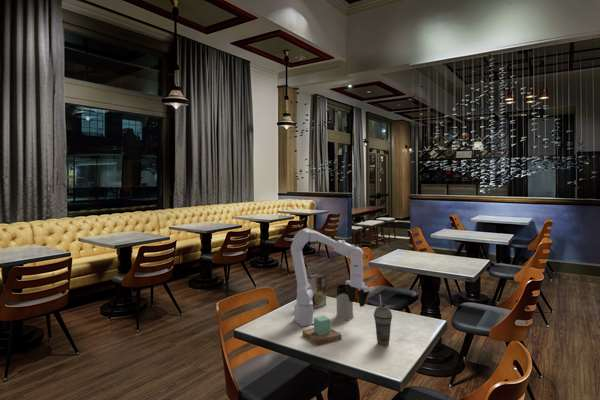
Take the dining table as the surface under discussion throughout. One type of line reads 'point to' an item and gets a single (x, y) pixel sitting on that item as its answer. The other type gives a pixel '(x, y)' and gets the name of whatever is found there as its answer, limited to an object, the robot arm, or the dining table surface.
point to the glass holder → (343, 304)
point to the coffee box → (318, 289)
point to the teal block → (322, 325)
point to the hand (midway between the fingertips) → (356, 303)
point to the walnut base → (323, 338)
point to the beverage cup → (383, 324)
